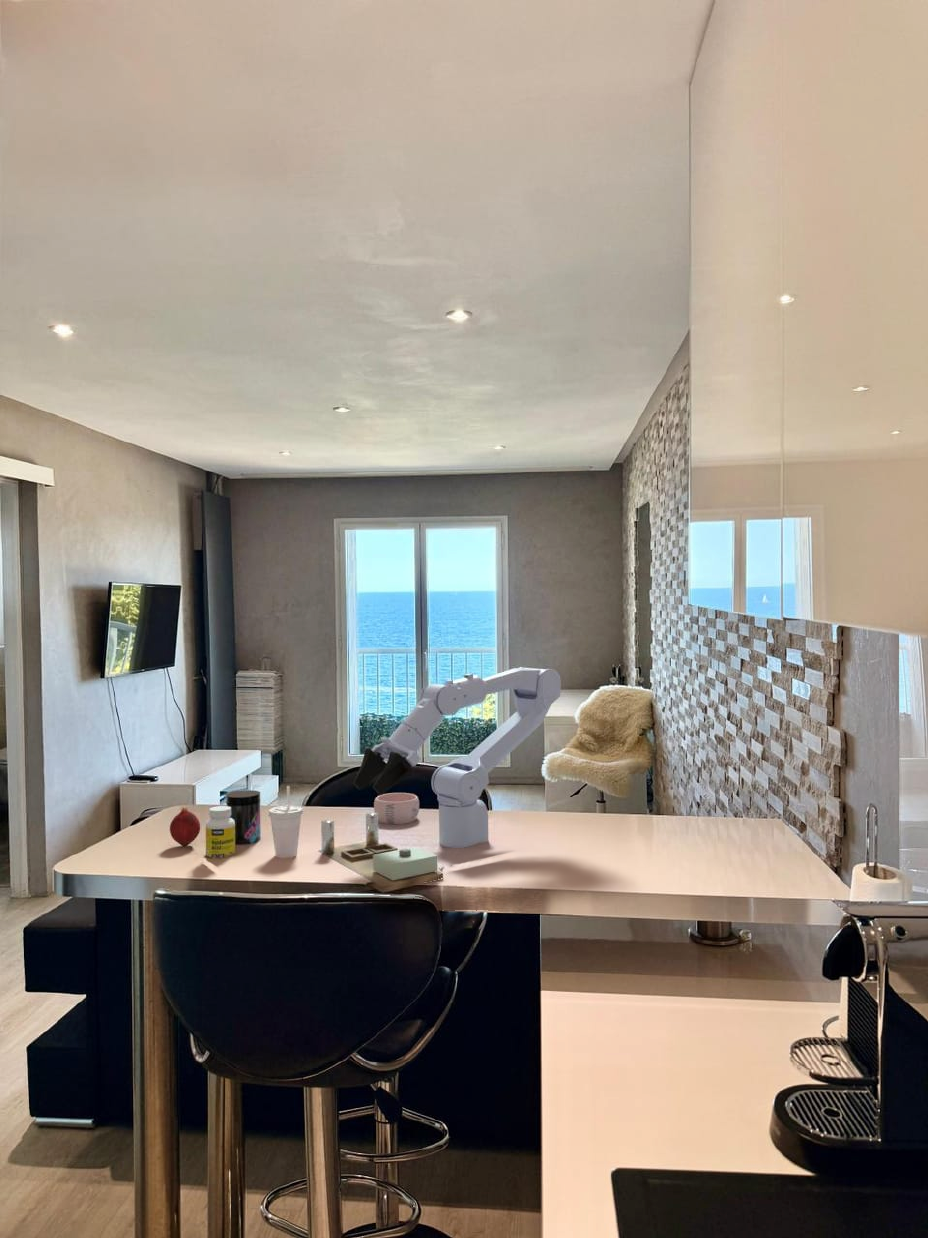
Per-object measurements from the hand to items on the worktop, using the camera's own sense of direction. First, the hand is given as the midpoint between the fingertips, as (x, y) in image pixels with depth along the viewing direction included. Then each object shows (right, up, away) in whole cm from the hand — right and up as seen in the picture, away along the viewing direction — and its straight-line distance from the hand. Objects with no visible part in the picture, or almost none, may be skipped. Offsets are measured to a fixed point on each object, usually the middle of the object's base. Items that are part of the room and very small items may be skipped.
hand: (366, 788), depth 154 cm
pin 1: (-8, -14, +6) cm, 17 cm away
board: (+2, -14, 0) cm, 15 cm away
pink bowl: (+3, -14, +33) cm, 36 cm away
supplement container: (-27, -15, +16) cm, 34 cm away
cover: (+8, -13, -6) cm, 16 cm away
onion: (-38, -15, +15) cm, 44 cm away
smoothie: (-16, -15, +5) cm, 22 cm away
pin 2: (0, -13, +12) cm, 18 cm away
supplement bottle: (-29, -15, +6) cm, 33 cm away
